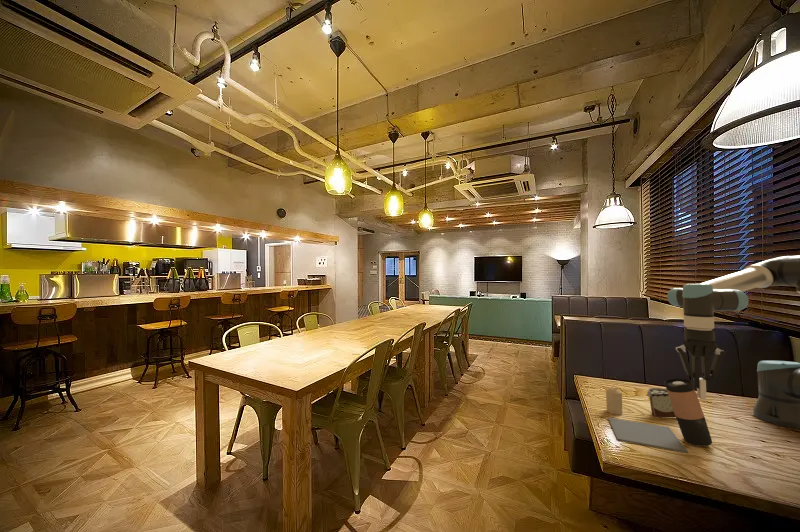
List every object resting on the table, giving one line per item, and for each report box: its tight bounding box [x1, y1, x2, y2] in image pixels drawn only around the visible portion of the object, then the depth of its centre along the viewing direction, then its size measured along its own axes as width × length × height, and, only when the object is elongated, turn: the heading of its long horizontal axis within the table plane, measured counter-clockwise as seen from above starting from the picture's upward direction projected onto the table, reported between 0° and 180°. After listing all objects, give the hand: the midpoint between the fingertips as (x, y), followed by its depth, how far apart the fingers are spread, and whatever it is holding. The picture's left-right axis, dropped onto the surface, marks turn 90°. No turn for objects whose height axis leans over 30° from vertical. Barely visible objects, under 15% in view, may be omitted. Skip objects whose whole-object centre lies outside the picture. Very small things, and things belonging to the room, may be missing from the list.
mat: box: [607, 417, 689, 454], centre depth 112 cm, size 19×18×1 cm
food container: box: [646, 387, 676, 418], centre depth 128 cm, size 12×6×10 cm, turn 84°
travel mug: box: [664, 378, 713, 447], centre depth 106 cm, size 8×8×20 cm
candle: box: [605, 386, 623, 415], centre depth 131 cm, size 6×6×10 cm
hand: (701, 398), depth 105 cm, fingers closed
